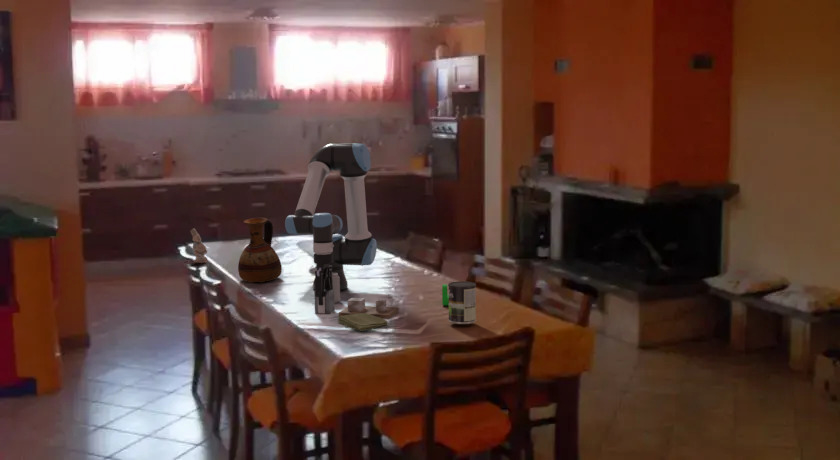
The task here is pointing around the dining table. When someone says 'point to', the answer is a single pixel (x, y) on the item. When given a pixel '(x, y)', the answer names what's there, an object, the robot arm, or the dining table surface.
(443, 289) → the mechanical part
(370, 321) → the washcloth
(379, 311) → the board
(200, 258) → the figurine
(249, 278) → the ceramic pitcher
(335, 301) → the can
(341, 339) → the dining table surface
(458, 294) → the coffee can
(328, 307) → the dark grey block
